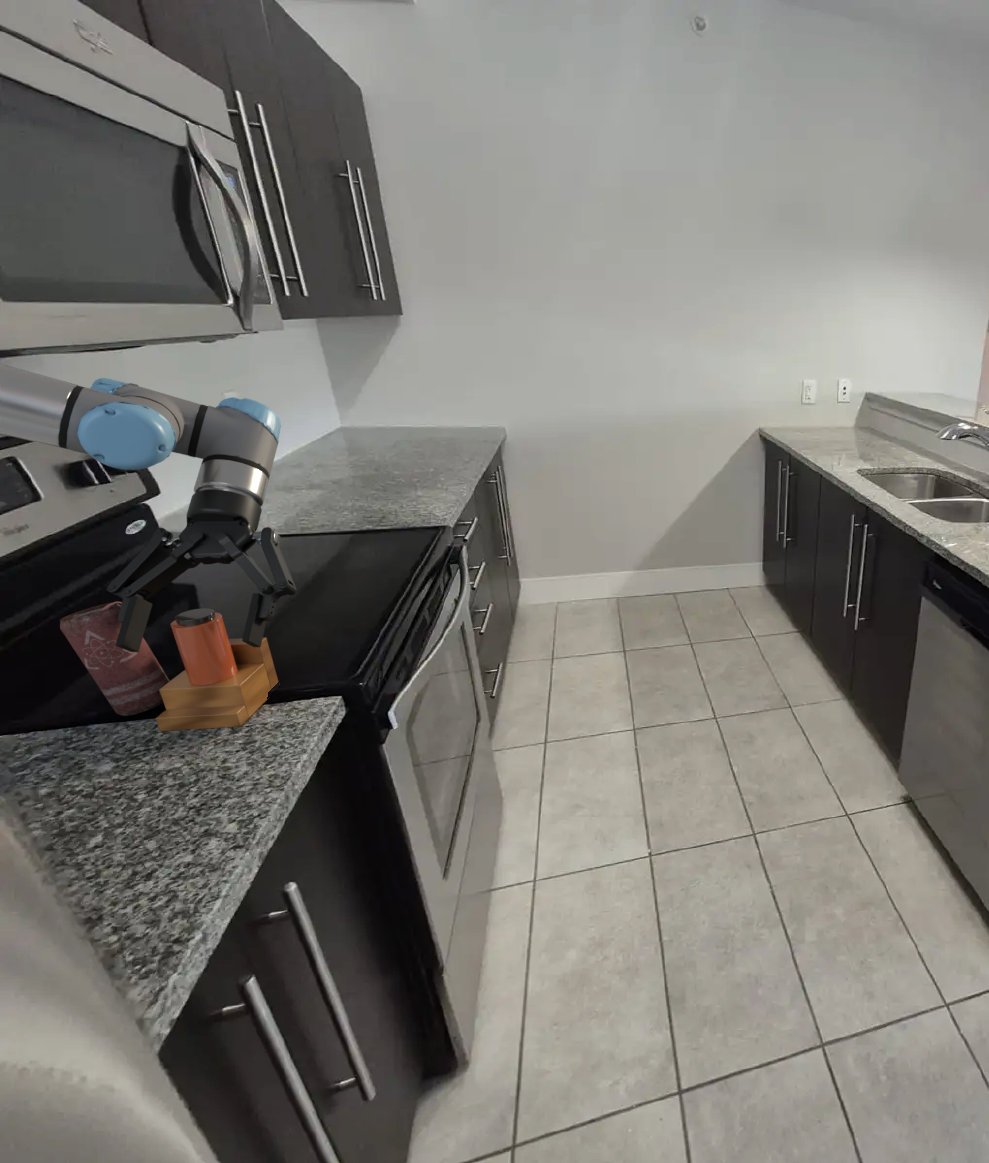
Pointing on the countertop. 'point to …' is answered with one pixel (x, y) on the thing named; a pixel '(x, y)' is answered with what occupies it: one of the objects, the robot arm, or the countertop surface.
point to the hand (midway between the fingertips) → (190, 646)
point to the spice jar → (204, 646)
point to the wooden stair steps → (220, 693)
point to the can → (115, 660)
